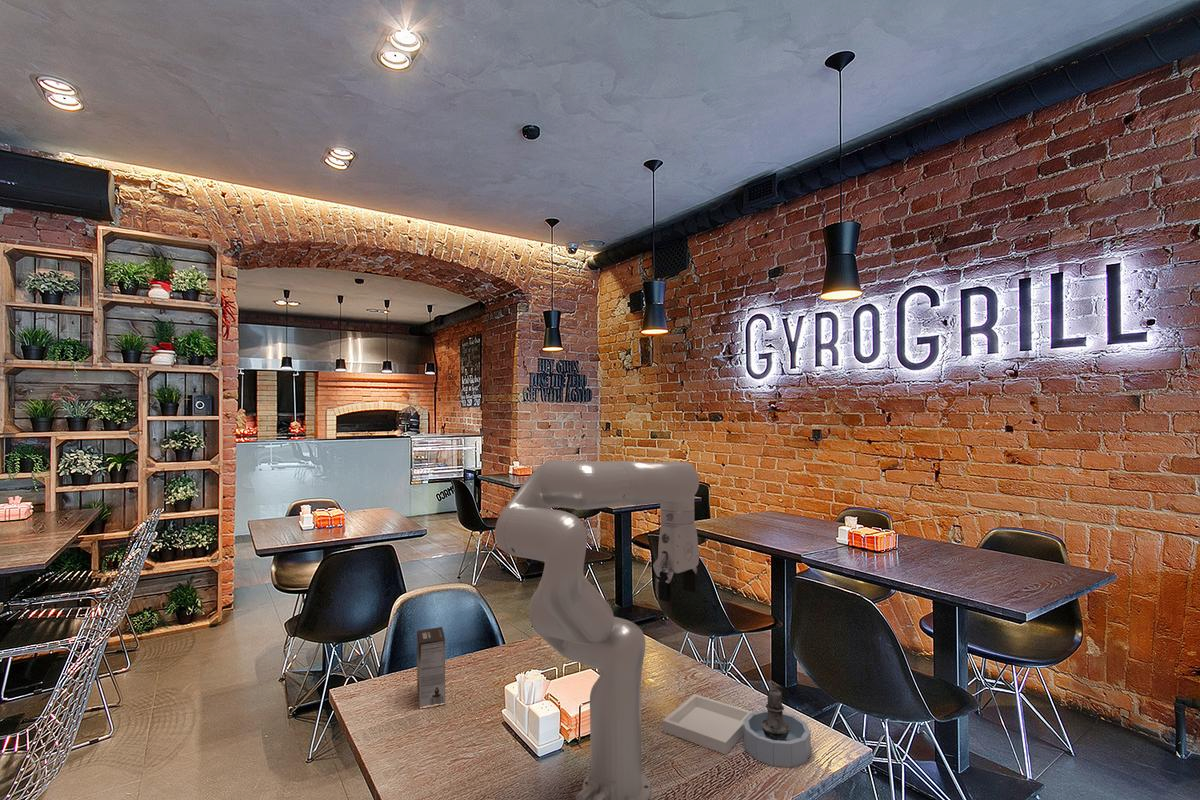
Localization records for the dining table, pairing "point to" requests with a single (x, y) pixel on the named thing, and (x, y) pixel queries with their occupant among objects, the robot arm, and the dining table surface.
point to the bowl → (777, 741)
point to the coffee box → (431, 666)
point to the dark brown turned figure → (775, 717)
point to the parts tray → (707, 723)
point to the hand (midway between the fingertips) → (677, 595)
